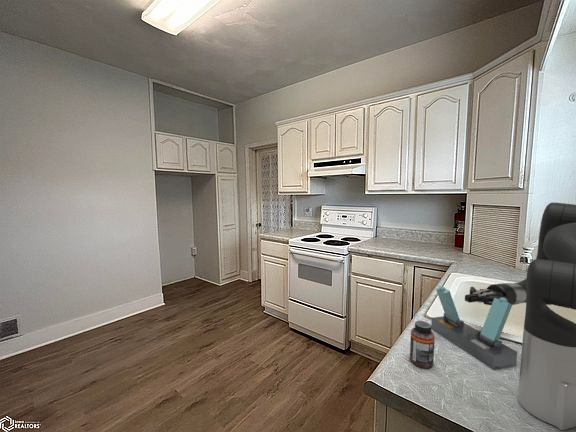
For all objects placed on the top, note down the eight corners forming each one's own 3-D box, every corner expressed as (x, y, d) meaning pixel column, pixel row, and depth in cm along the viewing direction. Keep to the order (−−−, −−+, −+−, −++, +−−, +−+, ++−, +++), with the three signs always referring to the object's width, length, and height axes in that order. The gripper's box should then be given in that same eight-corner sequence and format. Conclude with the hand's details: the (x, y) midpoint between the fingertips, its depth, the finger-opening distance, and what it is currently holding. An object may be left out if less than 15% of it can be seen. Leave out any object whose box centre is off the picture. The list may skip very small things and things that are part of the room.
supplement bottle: (412, 353, 77) (414, 316, 76) (435, 361, 73) (437, 323, 72) (407, 363, 72) (408, 324, 71) (430, 372, 68) (433, 331, 68)
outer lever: (461, 323, 85) (449, 287, 83) (456, 326, 85) (444, 290, 82) (451, 317, 89) (439, 283, 87) (446, 320, 89) (434, 286, 86)
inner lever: (496, 346, 73) (514, 301, 74) (491, 345, 73) (509, 299, 73) (483, 339, 77) (499, 296, 77) (478, 337, 77) (495, 294, 77)
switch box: (516, 365, 72) (517, 344, 71) (493, 369, 70) (495, 347, 69) (449, 326, 93) (450, 309, 92) (431, 328, 91) (432, 311, 91)
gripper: (488, 278, 98) (450, 281, 94) (528, 290, 85) (486, 295, 81) (487, 297, 98) (449, 301, 94) (526, 312, 85) (484, 318, 81)
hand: (466, 298), depth 88 cm, fingers closed
